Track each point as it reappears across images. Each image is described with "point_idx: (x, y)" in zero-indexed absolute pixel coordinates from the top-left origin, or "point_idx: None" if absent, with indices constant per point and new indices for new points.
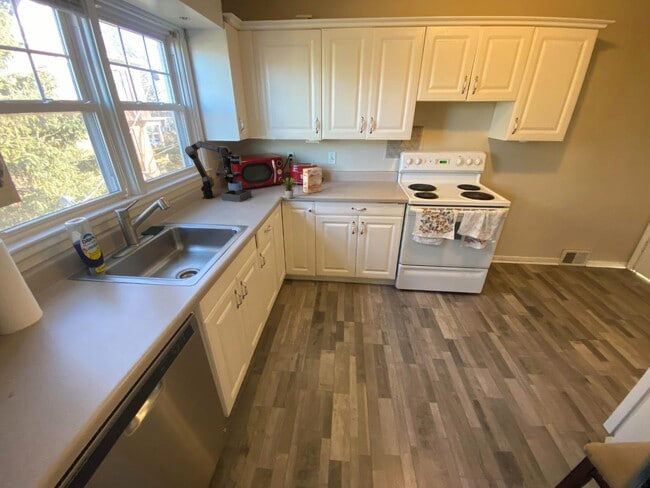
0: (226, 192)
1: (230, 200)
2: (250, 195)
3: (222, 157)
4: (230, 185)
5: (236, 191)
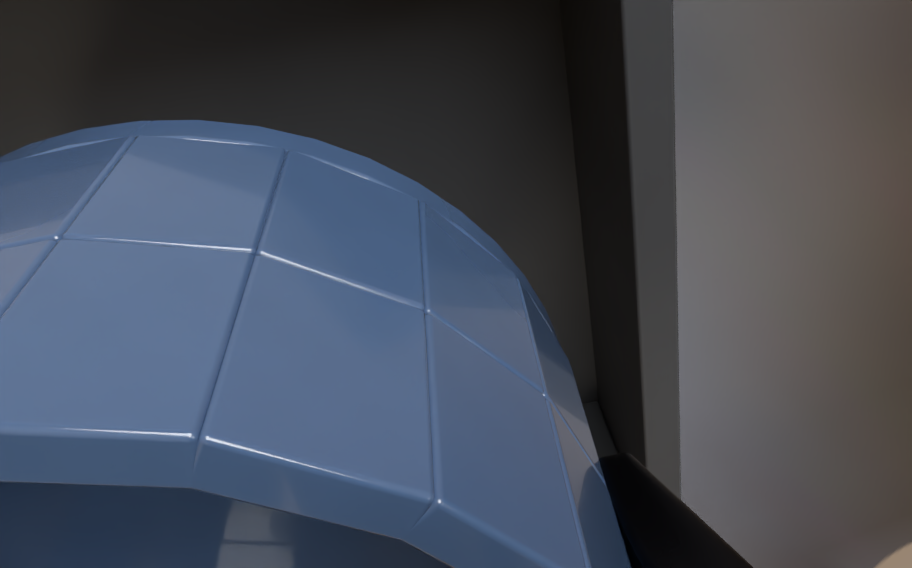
0: (622, 127)
1: None
2: None
3: None
4: (13, 288)
5: None
